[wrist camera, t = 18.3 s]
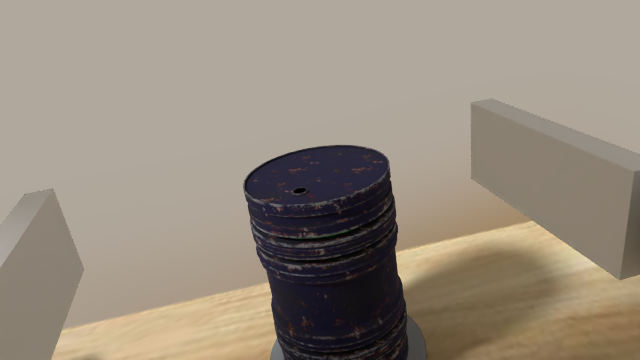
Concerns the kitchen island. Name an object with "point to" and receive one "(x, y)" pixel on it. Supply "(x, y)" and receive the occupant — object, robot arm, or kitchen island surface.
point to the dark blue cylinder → (330, 253)
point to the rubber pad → (415, 343)
